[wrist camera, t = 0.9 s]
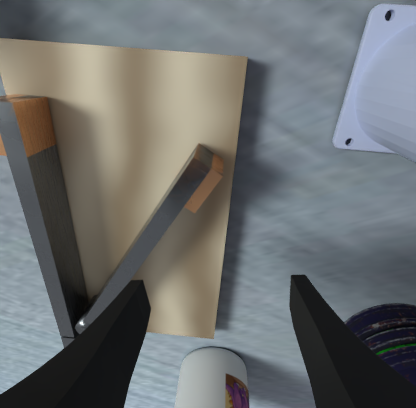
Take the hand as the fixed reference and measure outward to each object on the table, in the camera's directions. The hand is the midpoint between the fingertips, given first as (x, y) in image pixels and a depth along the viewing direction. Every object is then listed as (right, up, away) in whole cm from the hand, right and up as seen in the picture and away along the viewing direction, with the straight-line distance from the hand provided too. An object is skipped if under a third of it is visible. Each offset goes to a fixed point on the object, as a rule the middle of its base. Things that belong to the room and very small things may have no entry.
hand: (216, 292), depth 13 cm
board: (-6, +3, +9) cm, 12 cm away
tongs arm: (-6, +1, +9) cm, 10 cm away
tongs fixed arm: (-11, +2, +9) cm, 14 cm away
